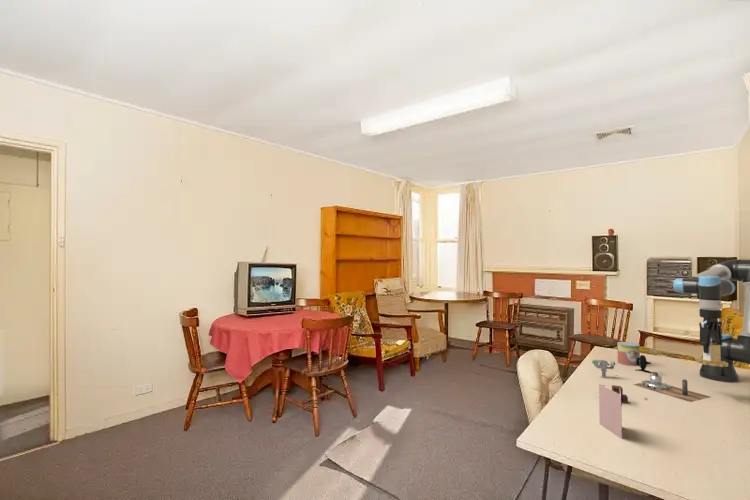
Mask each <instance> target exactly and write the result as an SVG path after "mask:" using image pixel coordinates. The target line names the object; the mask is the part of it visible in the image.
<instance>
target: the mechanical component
mask: <svg viewBox="0 0 750 500" xmlns="http://www.w3.org/2000/svg"><path fill="white" fill-rule="evenodd" d="M592 364H593V366H594V367H595V368H597V369H600V371H601V374H602V375H601V377H602V378H604V379H606V377H607V374H606V373H607V372H608V371H607V370H614V369H615V366H616V362H615V361H613V360H611V361H610V363H608V361H607V360H605V359H593V360H592Z"/></svg>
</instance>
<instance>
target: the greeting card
mask: <svg viewBox="0 0 750 500" xmlns="http://www.w3.org/2000/svg"><path fill="white" fill-rule="evenodd" d="M598 394H599V395H598V396H599V397H598V399H599V400H598V401H599V402H598V403H599V404H598V405H599V408H598V409H599V410H598V411H599V415H598V416H599V425H600V426H601V425H602V427H603V428H604V429H606V430H608V431H609V432H611V433H612V434H613V435H615V436H616V437H619V439H623V437H622V436H623V428H622V427H623V426H622V421H623V419H622V418H623V417H622V416H623V415H622V405H623V403H622V402H623V400H624V398H623V395H622V392H621V391H620V394H618V393H616V392H614V391H612V389H610V388H607V387H606V386H604V385H603V384H600V383H599V384H598Z"/></svg>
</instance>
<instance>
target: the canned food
mask: <svg viewBox="0 0 750 500" xmlns="http://www.w3.org/2000/svg"><path fill="white" fill-rule="evenodd" d="M616 344H617V347H616V348H617V363H618V364H620V365H623V366H628V367H640V366H639V365H637V363H636V358H640V356H641V354H640V352H641V351H640V344H639V343H634V342H629V341H617V342H616Z"/></svg>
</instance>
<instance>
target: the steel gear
mask: <svg viewBox="0 0 750 500" xmlns="http://www.w3.org/2000/svg"><path fill="white" fill-rule="evenodd" d="M662 381H663V379H662V376H661V375H659V374H658V376H653V374H650V375H649V380H647V379H644V380H641V383H642V385H645V387H650V388H651V389H658V390H668V389H669V390H670V389H671V387H670V386H671V385H670V384H668V383H666V382H662Z"/></svg>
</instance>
